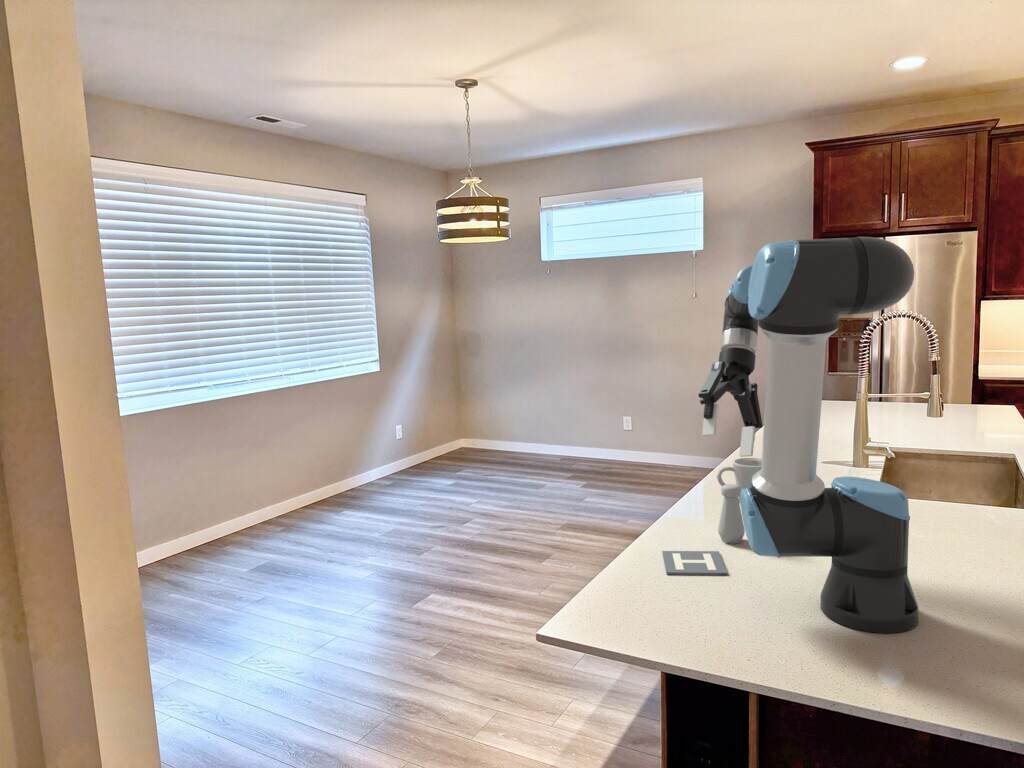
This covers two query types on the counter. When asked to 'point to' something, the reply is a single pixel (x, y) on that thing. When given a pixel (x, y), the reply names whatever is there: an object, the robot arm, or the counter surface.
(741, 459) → the mug
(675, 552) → the letter card
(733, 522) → the salt shaker
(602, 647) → the counter surface
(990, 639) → the counter surface
